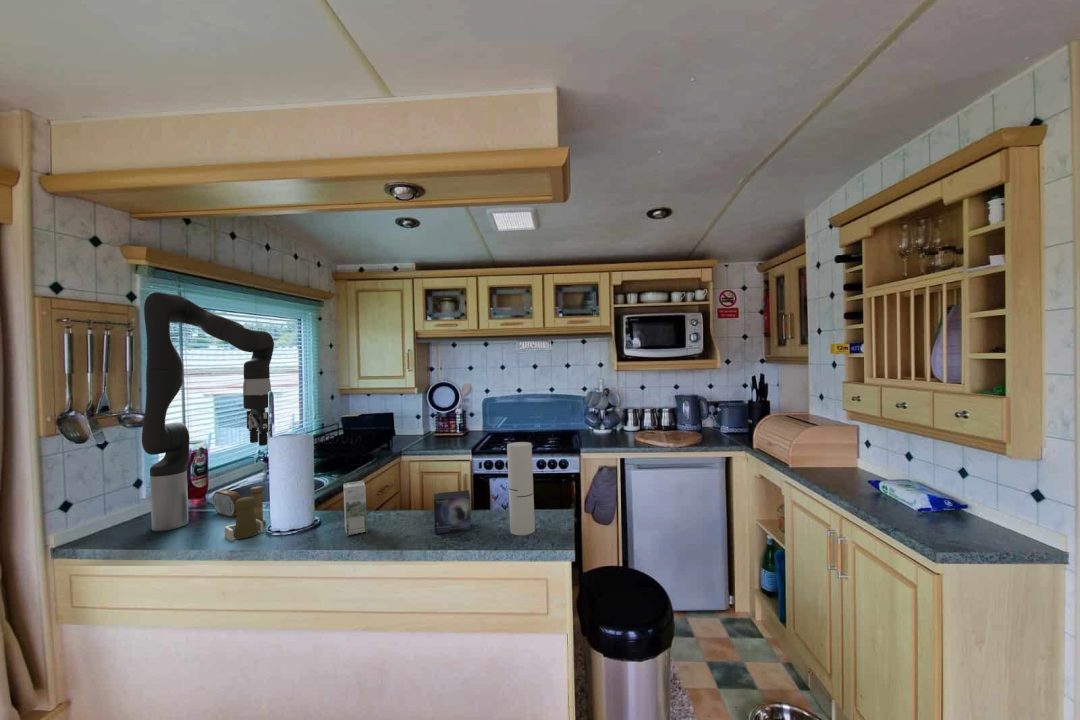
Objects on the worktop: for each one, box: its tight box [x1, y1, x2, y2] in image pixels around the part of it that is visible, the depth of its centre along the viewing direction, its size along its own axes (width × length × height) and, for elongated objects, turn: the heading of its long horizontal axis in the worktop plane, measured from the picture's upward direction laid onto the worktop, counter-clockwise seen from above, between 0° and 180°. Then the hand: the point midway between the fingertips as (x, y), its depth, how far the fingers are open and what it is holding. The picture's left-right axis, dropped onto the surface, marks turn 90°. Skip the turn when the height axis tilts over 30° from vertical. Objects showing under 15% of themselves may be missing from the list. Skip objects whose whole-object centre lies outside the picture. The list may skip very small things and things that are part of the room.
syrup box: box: [343, 480, 368, 537], centre depth 135 cm, size 6×6×14 cm
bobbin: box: [249, 485, 267, 526], centre depth 144 cm, size 4×4×12 cm
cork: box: [234, 496, 259, 539], centre depth 135 cm, size 6×6×11 cm
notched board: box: [224, 519, 264, 542], centre depth 136 cm, size 6×8×3 cm, turn 140°
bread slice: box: [212, 488, 242, 518], centre depth 156 cm, size 15×3×8 cm, turn 60°
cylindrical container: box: [506, 441, 536, 536], centre depth 131 cm, size 7×7×25 cm
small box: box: [433, 489, 472, 535], centre depth 134 cm, size 11×6×10 cm, turn 103°
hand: (258, 444), depth 143 cm, fingers open, 8 cm apart
